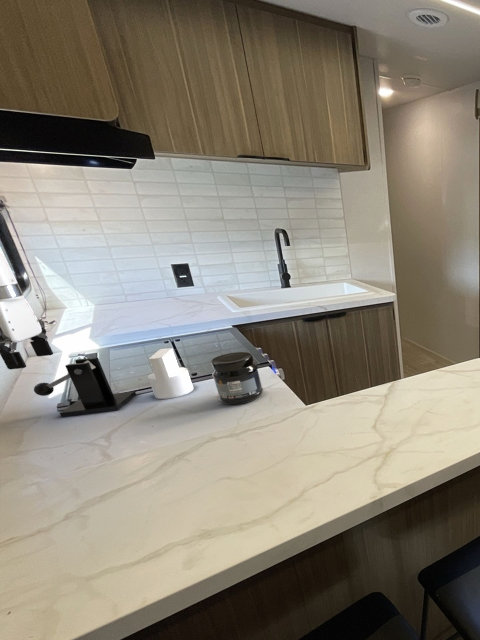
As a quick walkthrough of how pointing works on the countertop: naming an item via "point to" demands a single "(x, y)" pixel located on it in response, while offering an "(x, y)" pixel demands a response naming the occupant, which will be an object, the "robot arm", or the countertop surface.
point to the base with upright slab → (168, 375)
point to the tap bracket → (93, 390)
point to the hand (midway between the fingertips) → (32, 361)
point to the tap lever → (53, 384)
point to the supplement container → (236, 378)
